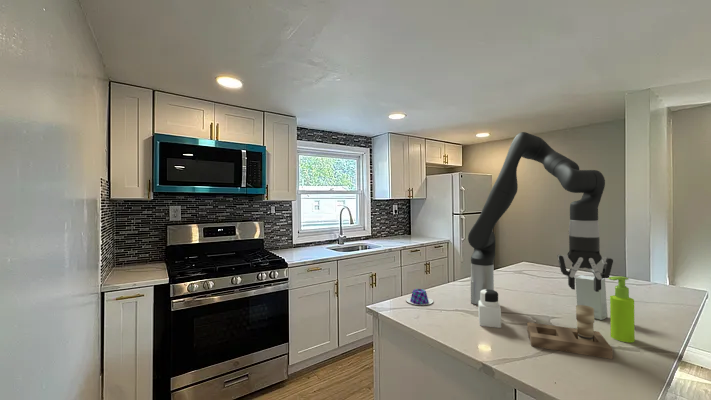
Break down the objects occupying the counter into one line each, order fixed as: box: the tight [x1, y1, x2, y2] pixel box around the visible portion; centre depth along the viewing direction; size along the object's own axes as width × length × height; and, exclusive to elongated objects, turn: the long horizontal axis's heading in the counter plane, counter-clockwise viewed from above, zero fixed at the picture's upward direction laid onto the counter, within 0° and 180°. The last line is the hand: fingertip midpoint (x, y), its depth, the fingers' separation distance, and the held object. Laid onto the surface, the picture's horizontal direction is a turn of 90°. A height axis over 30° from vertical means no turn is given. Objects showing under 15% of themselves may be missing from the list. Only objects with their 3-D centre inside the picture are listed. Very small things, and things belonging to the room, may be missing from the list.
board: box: [526, 321, 614, 360], centre depth 96 cm, size 20×12×3 cm, turn 66°
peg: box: [575, 304, 595, 341], centre depth 94 cm, size 4×4×12 cm
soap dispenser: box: [607, 275, 636, 344], centre depth 99 cm, size 6×7×20 cm
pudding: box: [405, 288, 434, 306], centre depth 137 cm, size 12×12×5 cm
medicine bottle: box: [477, 289, 502, 329], centre depth 112 cm, size 7×7×12 cm
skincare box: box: [574, 274, 608, 321], centre depth 119 cm, size 8×6×15 cm
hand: (584, 289), depth 94 cm, fingers open, 5 cm apart
